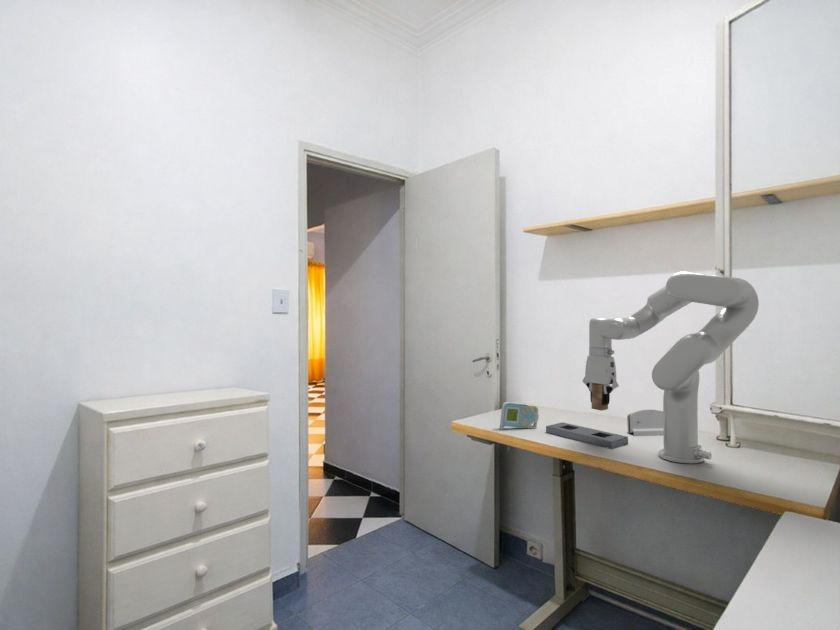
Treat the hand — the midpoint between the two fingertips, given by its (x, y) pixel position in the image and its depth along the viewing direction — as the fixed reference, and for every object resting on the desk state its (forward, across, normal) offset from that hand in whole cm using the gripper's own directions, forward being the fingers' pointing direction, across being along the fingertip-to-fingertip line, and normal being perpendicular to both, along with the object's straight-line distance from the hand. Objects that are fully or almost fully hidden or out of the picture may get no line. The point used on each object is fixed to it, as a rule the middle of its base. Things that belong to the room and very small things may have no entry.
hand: (599, 402), depth 169 cm
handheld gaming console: (+15, +31, +8) cm, 35 cm away
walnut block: (+2, 0, 0) cm, 2 cm away
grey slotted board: (+14, +6, 0) cm, 15 cm away
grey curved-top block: (+14, -5, -25) cm, 29 cm away
